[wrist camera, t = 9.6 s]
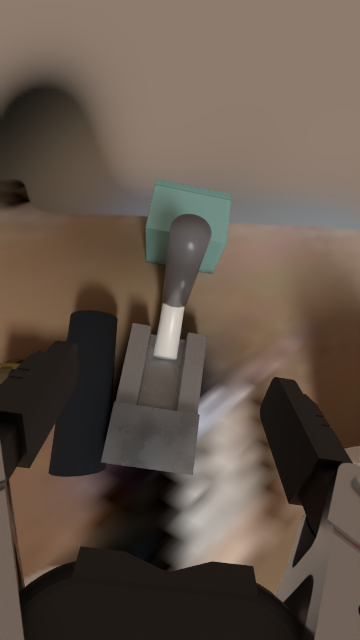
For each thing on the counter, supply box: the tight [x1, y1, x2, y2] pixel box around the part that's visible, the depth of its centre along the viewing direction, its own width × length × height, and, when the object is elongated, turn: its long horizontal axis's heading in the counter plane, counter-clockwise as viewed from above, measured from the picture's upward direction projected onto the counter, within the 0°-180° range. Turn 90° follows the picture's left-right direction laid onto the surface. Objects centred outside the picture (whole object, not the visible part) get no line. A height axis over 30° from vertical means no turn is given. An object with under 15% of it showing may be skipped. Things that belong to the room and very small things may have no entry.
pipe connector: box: [0, 311, 117, 477], centre depth 26 cm, size 12×5×15 cm
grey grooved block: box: [101, 323, 207, 475], centre depth 26 cm, size 8×13×5 cm, turn 172°
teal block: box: [145, 179, 231, 274], centre depth 32 cm, size 9×7×7 cm
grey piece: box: [153, 214, 212, 360], centre depth 25 cm, size 3×18×14 cm, turn 171°
